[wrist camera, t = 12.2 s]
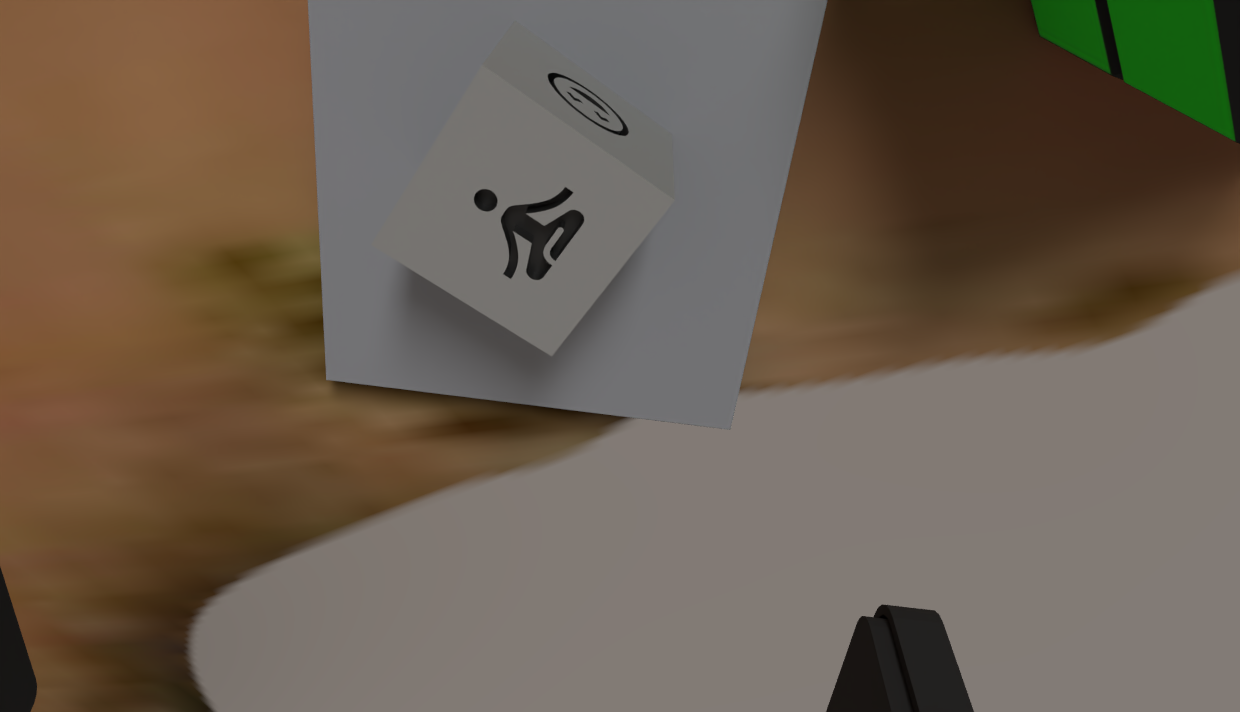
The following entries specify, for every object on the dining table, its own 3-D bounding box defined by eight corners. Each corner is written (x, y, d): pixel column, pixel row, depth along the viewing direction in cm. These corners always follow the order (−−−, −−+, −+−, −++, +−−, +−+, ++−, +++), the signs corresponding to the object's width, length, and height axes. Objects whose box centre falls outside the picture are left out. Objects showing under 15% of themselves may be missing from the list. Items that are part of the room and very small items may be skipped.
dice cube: (568, 270, 27) (551, 356, 22) (420, 173, 25) (370, 245, 21) (671, 134, 24) (674, 200, 20) (514, 20, 23) (481, 64, 19)
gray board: (837, -86, 23) (846, -82, 22) (727, 409, 30) (730, 429, 29) (317, -160, 22) (300, -159, 21) (338, 360, 30) (326, 379, 29)
